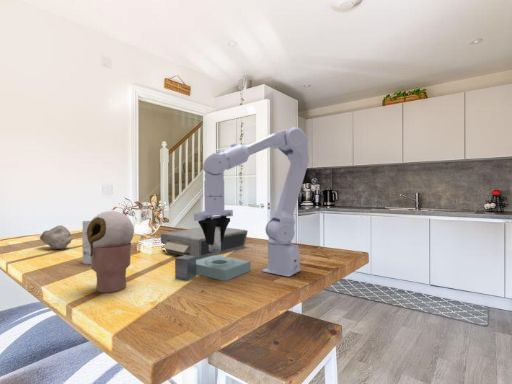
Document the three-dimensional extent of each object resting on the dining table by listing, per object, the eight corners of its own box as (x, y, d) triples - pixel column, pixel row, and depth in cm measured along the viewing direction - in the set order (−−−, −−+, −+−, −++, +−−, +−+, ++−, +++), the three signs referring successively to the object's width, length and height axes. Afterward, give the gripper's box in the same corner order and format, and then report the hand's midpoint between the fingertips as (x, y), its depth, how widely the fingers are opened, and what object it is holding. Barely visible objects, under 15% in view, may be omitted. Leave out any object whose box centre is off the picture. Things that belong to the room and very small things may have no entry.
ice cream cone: (77, 295, 70) (76, 212, 70) (103, 281, 81) (102, 209, 80) (121, 296, 69) (120, 213, 69) (141, 281, 80) (140, 209, 80)
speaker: (192, 262, 102) (248, 248, 126) (192, 240, 102) (248, 229, 126) (155, 253, 117) (210, 241, 141) (154, 233, 117) (210, 225, 140)
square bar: (196, 276, 85) (196, 256, 85) (187, 280, 81) (186, 259, 81) (184, 274, 87) (184, 254, 87) (175, 278, 83) (175, 258, 83)
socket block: (250, 270, 91) (250, 261, 91) (225, 281, 81) (225, 270, 81) (214, 263, 99) (214, 255, 99) (188, 272, 89) (187, 262, 89)
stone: (59, 245, 131) (59, 223, 131) (76, 248, 124) (76, 225, 124) (36, 248, 124) (36, 225, 124) (53, 252, 117) (53, 227, 116)
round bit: (223, 250, 85) (223, 226, 85) (214, 252, 82) (214, 227, 82) (214, 248, 87) (214, 225, 87) (206, 250, 84) (206, 226, 84)
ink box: (112, 262, 102) (112, 220, 101) (101, 265, 97) (100, 221, 97) (94, 260, 104) (93, 219, 104) (81, 263, 100) (81, 220, 99)
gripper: (220, 195, 92) (220, 238, 93) (185, 197, 80) (186, 245, 81) (238, 195, 89) (238, 240, 89) (204, 197, 77) (204, 248, 77)
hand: (214, 243), depth 84 cm, fingers closed on round bit, 3 cm apart
